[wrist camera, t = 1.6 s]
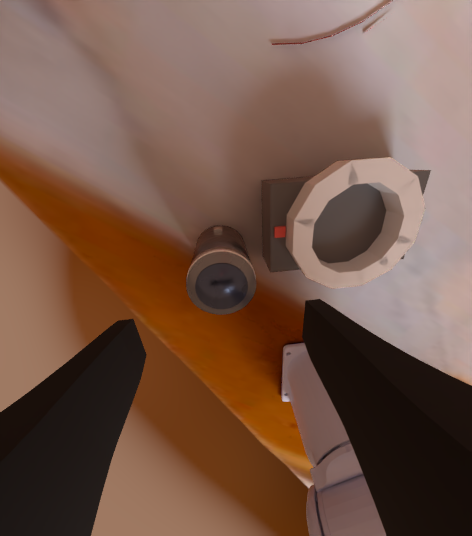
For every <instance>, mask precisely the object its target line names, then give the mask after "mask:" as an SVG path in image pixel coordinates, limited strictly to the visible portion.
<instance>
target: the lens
mask: <svg viewBox="0 0 472 536" xmlns="http://www.w3.org/2000/svg"><path fill="white" fill-rule="evenodd" d="M186 287H187V292H188V295H189V297H190V299H191V300H192V302H193V303H194V304H195V305H196V306H197V307H199V308H200V309H202V310H204V311H206V312H208V313H212V314H230V313H233V312H236V311H238V310H240V309H242V308H243V307H245V306H246V305H247V304H248V303H249V302H250V301H251V299H252V298H253V296H254V293H255V290H256V275H255V272H254V269H253V266H252V264H251V262H250V259H249V256H248V253H247V250H246V247H245V244H244V241H243V239H242V237H241V235H240V234H239V233H238V232H237V231H236V230H234V229H233V228H231V227H228V226H223V225H218V226H213V227H210V228H208V229H207V230H205V231H204V232H203V233H202V234H201V235H200V237H199V239H198V241H197V245H196V248H195V252H194V255H193V259H192V263H191V265H190V267H189V270H188V274H187V279H186Z"/></svg>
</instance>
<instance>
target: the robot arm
mask: <svg viewBox="0 0 472 536" xmlns="http://www.w3.org/2000/svg"><path fill="white" fill-rule="evenodd" d="M302 338H303V340H304V343H299V344H290V345H286V346H284V347H283V366H282V393H281V398H282V401H284V402H288V401H291V405H292V408H293V411H294V415H295V418H296V421H297V424H298V428H299V431H300V434H301V438H302V441H303V444H304V447H305V451H306V454H307V456H308V458H309V460H310V462H311V464H312V465H313V467H314V468H312V469H310V472H311V475H312V479H313V482H314V485H312V486H311V487H310V488H309V491H308V501H307V522H308V529H309V534H310V536H472V386H471V385H469V384H466V383H464V382H462V381H460V380H458V379H456V378H454V377H452V376H450V375H448V374H445V373H443V372H441V371H440V370H438V369H436V368H434V367H432V366H430V365H428V364H426V363H424V362H422V361H420V360H418V359H416V358H414V357H412V356H411V355H409V354H407V353H405V352H403V351H402V350H400V349H398V348H396V347H395V346H393V345H391V344H390V343H388V342H386V341H384V340H383V339H381V338H379V337H378V336H376V335H374V334H373V333H371V332H370V331H368V330H366V329H365V328H363V327H362V326H360V325H359V324H357V323H355V322H354V321H352V320H351V319H349V318H348V317H346V316H345V315H343V314H342V313H340V312H339V311H337V310H336V309H334V308H333V307H331V306H330V305H328V304H327V303H325V302H324V301H322V300H320V299H317V300H308V301H306V302H305V313H304V324H303V335H302ZM145 358H146V352H145V350H144V347H143V344H142V341H141V339H140V336H139V333H138V331H137V328H136V325H135V323H134V320H133V319H129V320H120V321H117V322H116V323H114V324H113V325H112V326H110V327H109V328H108V329H107V330H106V331H104V332H103V333H102V334H101V335H99V336H98V337H97V338H96V339H95V340H93V341H92V342H91V343H90V344H89V345H87V346H86V347H85V348H84V349H82V350H81V351H80V352H79V353H78V354H76V355H75V356H74V357H73V358H72V359H70V360H69V361H68V362H67V363H66V364H64V365H63V366H62V367H60V368H59V369H58V370H56V371H55V372H54V373H53V374H51V375H50V376H49V377H48V378H46V379H45V380H44V381H42V382H41V383H40V384H39V385H37V386H36V387H35V388H33V389H32V390H31V391H29V392H28V393H27V394H25V395H24V396H23V397H21V398H20V399H19V400H17V401H16V402H14V403H13V404H12V405H10V406H9V407H7V408H6V409H5V410H3V411H2V412H0V536H91V533H92V529H93V525H94V521H95V518H96V514H97V510H98V506H99V502H100V498H101V495H102V491H103V487H104V484H105V480H106V477H107V473H108V470H109V466H110V463H111V459H112V457H113V453H114V451H115V447H116V445H117V442H118V439H119V436H120V434H121V431H122V429H123V426H124V423H125V420H126V418H127V415H128V412H129V410H130V407H131V404H132V401H133V399H134V396H135V393H136V390H137V388H138V385H139V382H140V379H141V376H142V372H143V367H144V363H145Z"/></svg>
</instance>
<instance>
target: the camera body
mask: <svg viewBox="0 0 472 536" xmlns="http://www.w3.org/2000/svg"><path fill="white" fill-rule="evenodd" d="M430 171H431V170H408V169H407V168H405V167H404V166H403V165H401V164H400V163H398V162H397V161H395V160H394V159H393V158H391V157H385V158H367V159H355V160H343V161H336V162H335V163H333V164H332V165H330V166H329V167H328V168H326V169H325V170H323V171H322V172H320V173H319V174H317V175H316V176H311V177H299V178H287V179H276V180H264V181H261V185H262V241H263V258H264V260H265V262H266V264H267V266H268V268H269V270H270V272H278V271H288V270H298V269H300V270H301V271H302V272H303V274H304V275H305V276H306V277H307V278H308V279H310V280H313V281H315V282H317V283H320V284H322V285H324V286H327V287H329V288H331V289H334V288H343V287H353V286H362V285H364V284H365V283H367V282H369V281H371V280H373V279H375V278H376V277H378V276H380V275H382V274H384V273H386V272H387V271H389V270H391V269H392V268H393V267H394V266H395V264H396V263H397V262H398V261H399V260H400V259H403V258H404V255H405V253H406V252H407V250H408V249H409V248H410V247H411V246H412V245H413V243H414V242H415V239H416V236H417V234H418V230H419V227H420V224H421V221H422V218H423V215H424V212H425V204H424V200H423V194H424V190H425V187H426V184H427V181H428V178H429V174H430Z"/></svg>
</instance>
